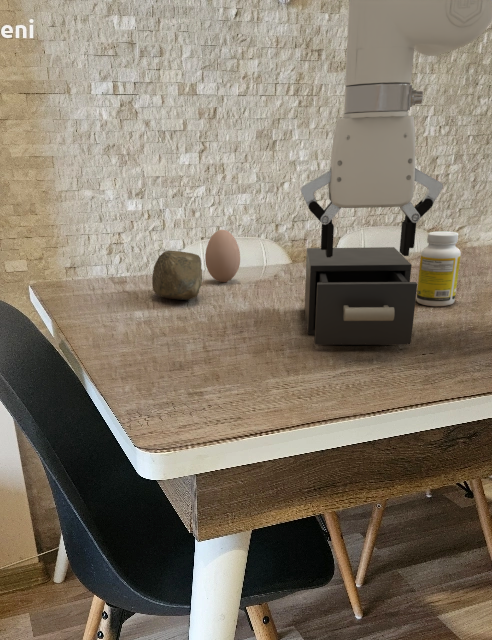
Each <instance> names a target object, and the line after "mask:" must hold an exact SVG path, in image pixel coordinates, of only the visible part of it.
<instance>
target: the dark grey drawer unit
mask: <svg viewBox="0 0 492 640" xmlns="http://www.w3.org/2000/svg"><path fill="white" fill-rule="evenodd" d="M305 255H306V256H305V257H306V258H305V261H306V262H305V288H304V315H305V322H306V330H307V335H308V336H312V335H313V336H315V323H316V316H315V315H316V291H317V272H320V271H399V272H400V273H401V274H402V275H403V276H404V277H405V279H406V280H407V281H408V282H411V275H412V266H413V265H412V264H411V262H410V261H408V259H407V258H405V256H404V255H402V254H401V253H400V251H398V249H396V247H394V246H385V247H382V246H381V247H380V246H377V247H375V246H374V247H373V246H372V247H333V256H331V257H326V250H321V247H307V248H306V253H305Z"/></svg>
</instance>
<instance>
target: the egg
mask: <svg viewBox="0 0 492 640" xmlns="http://www.w3.org/2000/svg"><path fill="white" fill-rule="evenodd" d="M204 256H205V259H204V260H205V267H206V270H207V272H208V274H209V275H210V276H211V277H212V278H213V279H214V280H215V281H217V282H219V283H226V282H227V283H228V282H229V281H232V279H234V277H235V276H236V274H237V273H238V271H239V269H240V266H241V250H240V247H239V244H238V242H237V240H236V238H235V236H234V235H233V234H232V233H231V232H230V231H229V230H226V229H218V230H216V231H215V232H214V233H213V234H212V235H211V237H210V238H209V240H208V243H207V244H206V249H205V255H204Z"/></svg>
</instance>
